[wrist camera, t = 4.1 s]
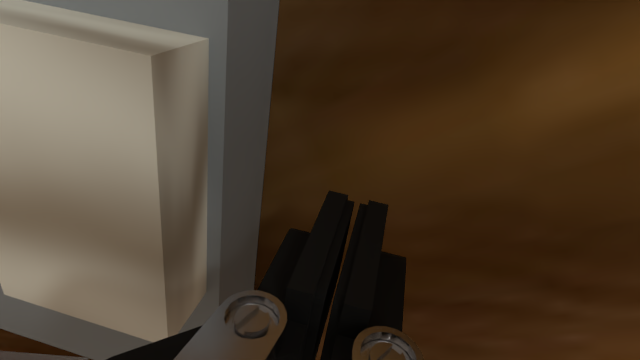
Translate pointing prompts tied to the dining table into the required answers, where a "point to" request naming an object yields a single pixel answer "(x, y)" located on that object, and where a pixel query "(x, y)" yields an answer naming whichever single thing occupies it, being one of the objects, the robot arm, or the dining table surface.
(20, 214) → the cream tile
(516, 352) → the dining table surface
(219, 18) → the slate deck
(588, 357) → the dining table surface
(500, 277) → the dining table surface
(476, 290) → the dining table surface
